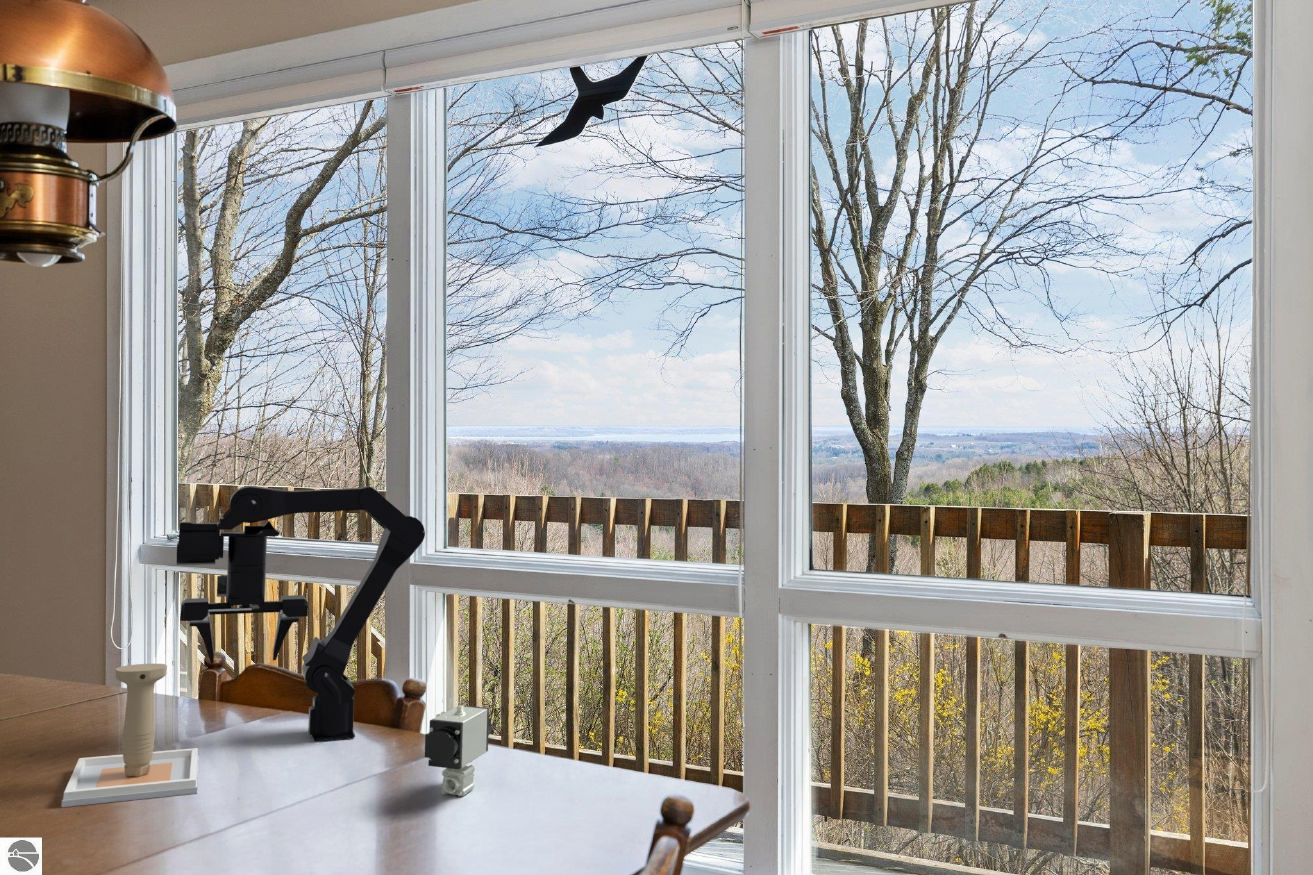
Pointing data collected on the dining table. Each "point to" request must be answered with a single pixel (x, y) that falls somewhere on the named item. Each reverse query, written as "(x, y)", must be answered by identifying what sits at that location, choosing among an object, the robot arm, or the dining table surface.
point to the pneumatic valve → (457, 745)
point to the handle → (139, 715)
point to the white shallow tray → (132, 778)
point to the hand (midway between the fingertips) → (243, 661)
